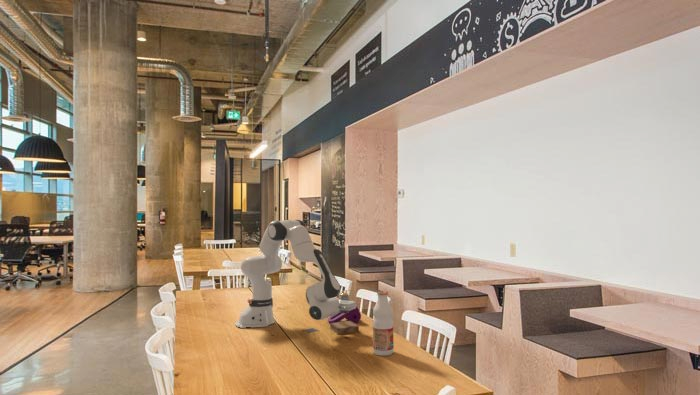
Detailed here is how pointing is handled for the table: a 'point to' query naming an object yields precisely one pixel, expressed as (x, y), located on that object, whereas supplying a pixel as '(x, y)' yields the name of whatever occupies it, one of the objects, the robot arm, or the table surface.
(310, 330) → the gasket plate
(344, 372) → the table surface
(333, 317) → the mounting bracket
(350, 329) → the stand
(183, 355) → the table surface
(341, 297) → the grey can
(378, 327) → the fruit juice
